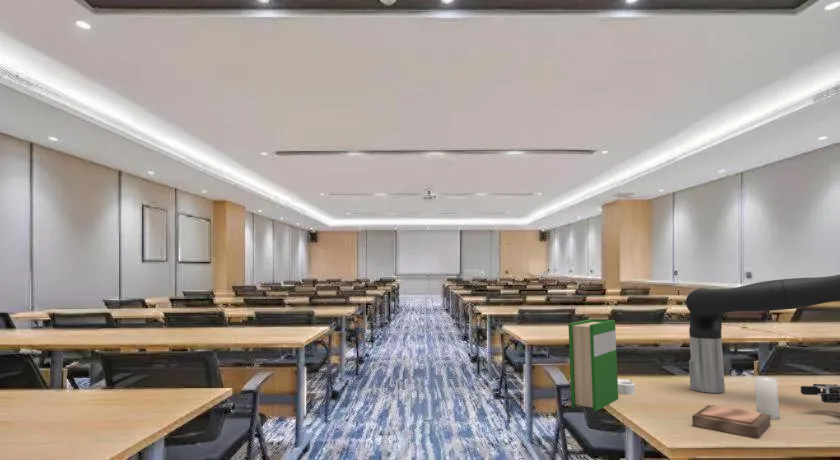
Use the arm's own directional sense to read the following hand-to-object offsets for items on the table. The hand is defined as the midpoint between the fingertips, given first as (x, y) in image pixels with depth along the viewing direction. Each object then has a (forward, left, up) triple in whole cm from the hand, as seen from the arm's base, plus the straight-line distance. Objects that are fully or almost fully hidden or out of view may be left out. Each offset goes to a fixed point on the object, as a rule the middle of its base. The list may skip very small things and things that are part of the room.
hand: (811, 394), depth 132 cm
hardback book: (-49, -25, -6) cm, 55 cm away
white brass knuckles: (-54, -5, -7) cm, 55 cm away
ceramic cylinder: (-9, -7, -6) cm, 13 cm away
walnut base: (-14, -23, -6) cm, 27 cm away
